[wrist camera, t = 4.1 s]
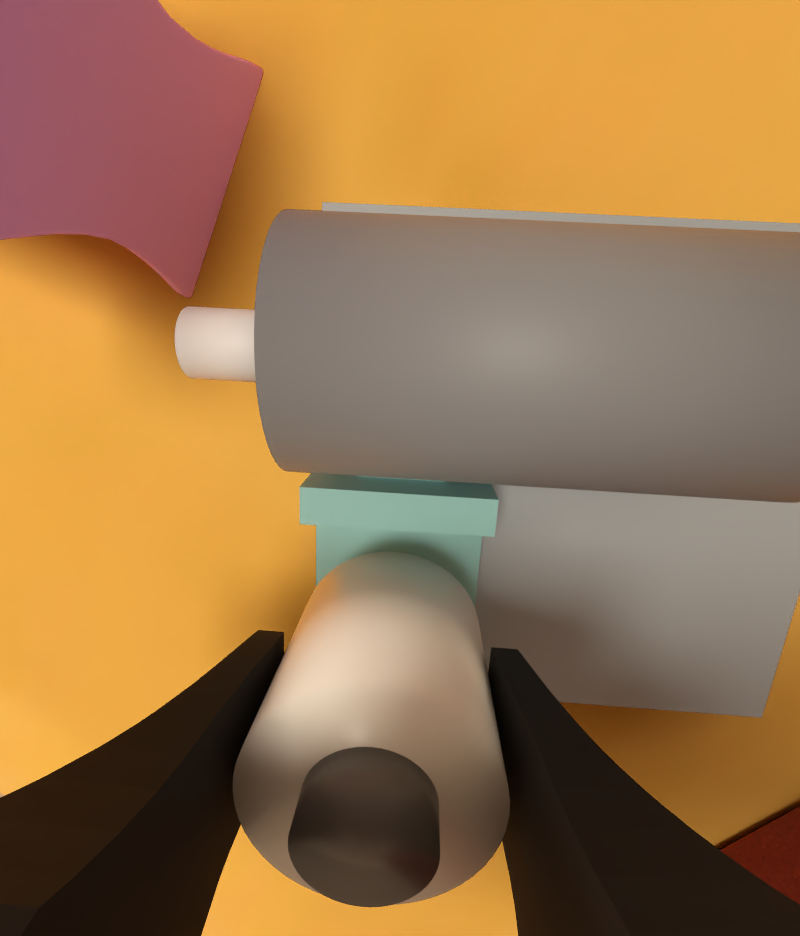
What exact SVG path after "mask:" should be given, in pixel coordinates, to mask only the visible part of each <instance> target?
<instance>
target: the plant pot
mask: <svg viewBox="0 0 800 936" xmlns="http://www.w3.org/2000/svg"><path fill="white" fill-rule="evenodd" d="M720 851H721V852H723V853H724V854H726V855H727V856H728V857H730V858H731V859H733V860H734V861H736V862H737V863H738V864H740V865H741V866H743V867H744V868H745V869H747V870H748V871H750V872H751V873H753V874H754V875H755V876H757V877H758V878H760V879H761V880H762V881H764V882H765V883H767V884H768V885H770V886H771V887H773V888H774V889H776V890H778V891H779V892H781V893H782V894H784V895H785V896H787V897H789V898H790V899H792V900H793V901H795V902H796V903H798V904H800V806H799V807H797V808H796V809H794V810H792V811H791V812H789V813H787V814H785V815H784V816H782V817H780V818H778V819H776V820H774V821H772V822H771V823H769V824H767V825H765V826H763V827H761V828H759V829H758V830H756V831H754V832H752V833H750V834H748V835H747V836H745V837H743V838H741V839H739V840H738V841H736V842H734V843H732V844H730V845H729V846H727V847H725V848H723V849H721V850H720Z"/></svg>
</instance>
